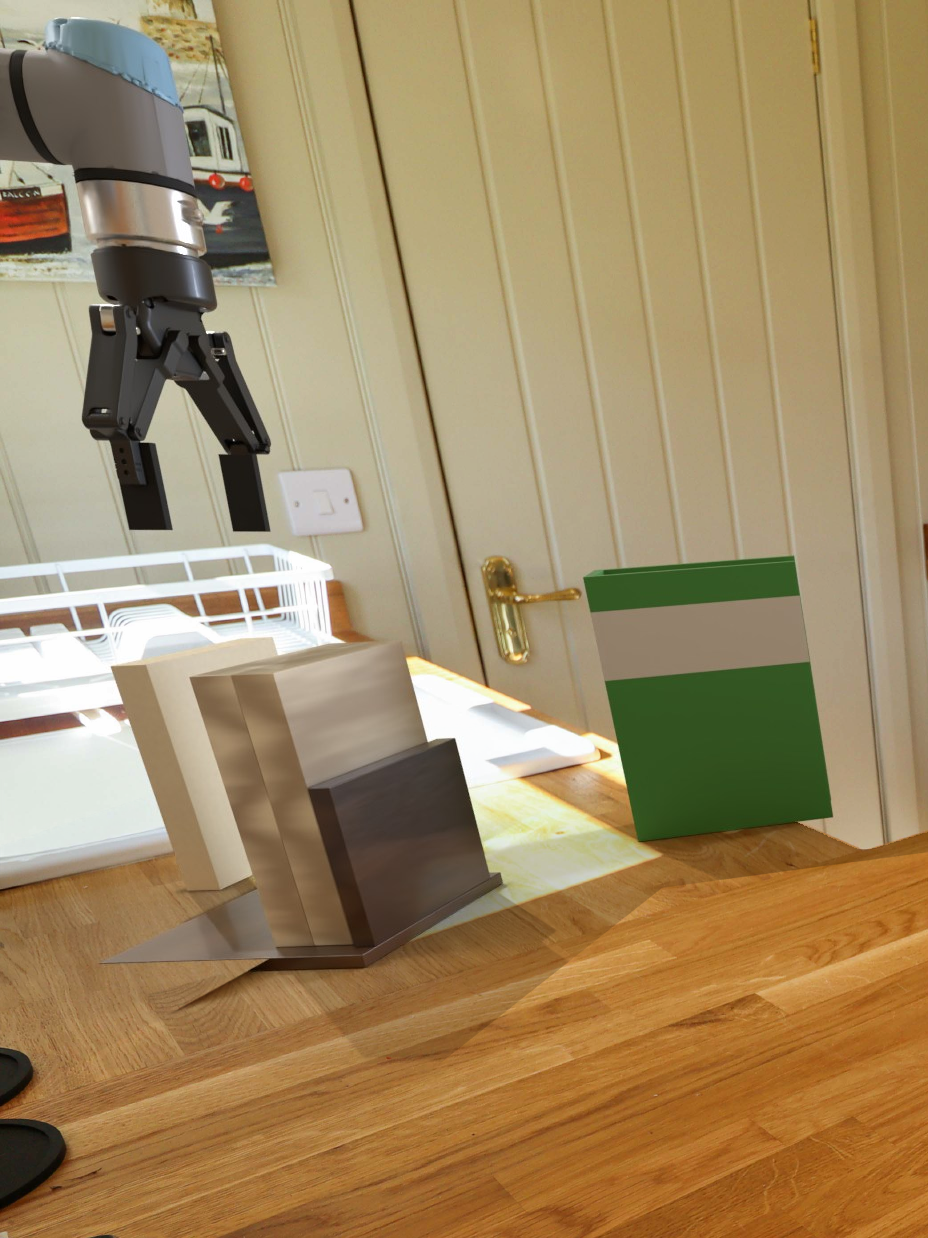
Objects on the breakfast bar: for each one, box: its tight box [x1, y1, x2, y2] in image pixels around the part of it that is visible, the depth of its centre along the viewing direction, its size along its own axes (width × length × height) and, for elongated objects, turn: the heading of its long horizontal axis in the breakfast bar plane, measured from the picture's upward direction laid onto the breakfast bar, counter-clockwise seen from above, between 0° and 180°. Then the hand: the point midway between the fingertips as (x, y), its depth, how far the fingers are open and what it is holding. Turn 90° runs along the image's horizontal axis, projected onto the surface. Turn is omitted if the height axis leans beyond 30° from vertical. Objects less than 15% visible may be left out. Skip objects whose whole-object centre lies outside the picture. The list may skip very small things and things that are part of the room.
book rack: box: [98, 639, 504, 972], centre depth 96 cm, size 20×18×21 cm
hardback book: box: [582, 554, 834, 843], centre depth 119 cm, size 18×7×24 cm, turn 107°
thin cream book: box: [110, 636, 279, 892], centre depth 111 cm, size 3×14×20 cm, turn 178°
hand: (204, 531), depth 106 cm, fingers open, 13 cm apart
